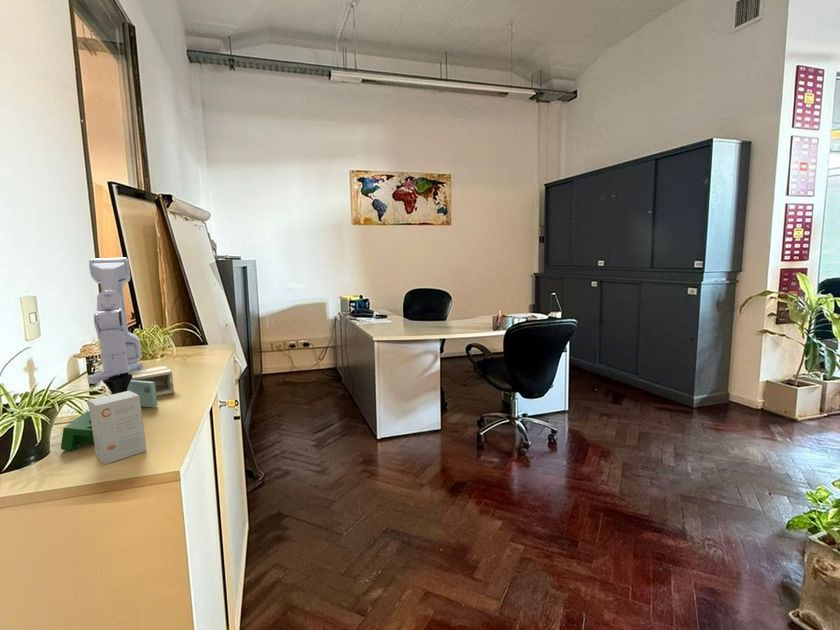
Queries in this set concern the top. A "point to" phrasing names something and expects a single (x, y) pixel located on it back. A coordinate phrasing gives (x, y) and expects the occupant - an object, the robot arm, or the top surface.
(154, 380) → the cabinet
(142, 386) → the door
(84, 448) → the top surface
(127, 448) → the small box
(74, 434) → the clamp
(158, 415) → the top surface
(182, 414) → the top surface
